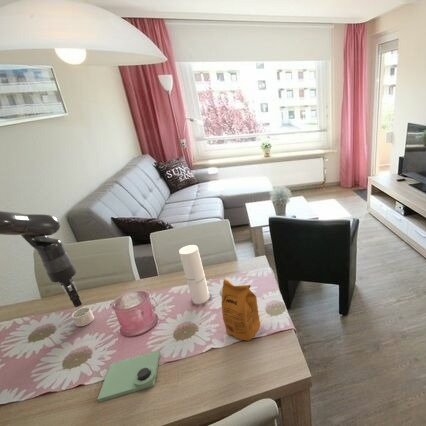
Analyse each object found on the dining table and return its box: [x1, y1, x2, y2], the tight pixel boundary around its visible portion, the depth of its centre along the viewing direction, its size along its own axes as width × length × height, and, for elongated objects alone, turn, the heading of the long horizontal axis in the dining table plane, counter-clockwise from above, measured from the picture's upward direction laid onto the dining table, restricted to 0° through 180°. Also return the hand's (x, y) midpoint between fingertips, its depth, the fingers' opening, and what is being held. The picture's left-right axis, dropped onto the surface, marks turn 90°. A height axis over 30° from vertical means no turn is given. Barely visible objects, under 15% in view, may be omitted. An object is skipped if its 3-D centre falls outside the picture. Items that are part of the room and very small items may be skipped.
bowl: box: [71, 306, 95, 327], centre depth 116 cm, size 6×6×5 cm
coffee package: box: [221, 278, 261, 342], centre depth 106 cm, size 10×12×22 cm
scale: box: [97, 350, 161, 403], centre depth 94 cm, size 16×14×3 cm
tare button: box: [137, 368, 150, 381], centre depth 91 cm, size 3×3×2 cm
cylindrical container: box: [178, 244, 210, 305], centre depth 123 cm, size 7×7×25 cm
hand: (75, 300), depth 113 cm, fingers open, 8 cm apart
